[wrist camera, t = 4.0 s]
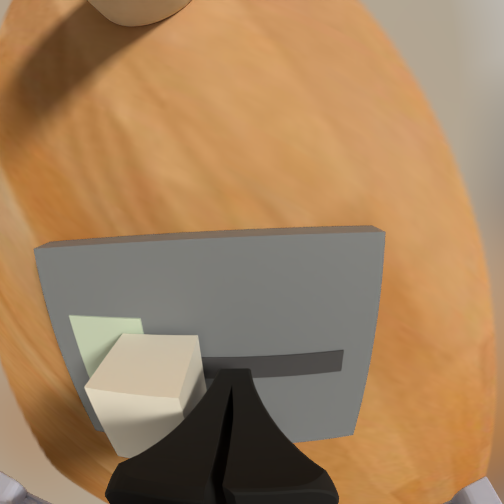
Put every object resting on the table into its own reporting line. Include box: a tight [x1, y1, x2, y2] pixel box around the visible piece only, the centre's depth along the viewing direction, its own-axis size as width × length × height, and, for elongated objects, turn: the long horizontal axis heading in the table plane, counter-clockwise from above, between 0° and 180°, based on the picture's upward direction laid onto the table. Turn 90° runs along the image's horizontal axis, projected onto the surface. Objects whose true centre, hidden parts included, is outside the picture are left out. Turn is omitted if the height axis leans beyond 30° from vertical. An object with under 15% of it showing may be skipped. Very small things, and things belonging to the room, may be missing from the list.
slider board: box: [34, 226, 385, 443], centre depth 14 cm, size 12×16×2 cm
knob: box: [84, 333, 207, 458], centre depth 11 cm, size 4×4×4 cm
